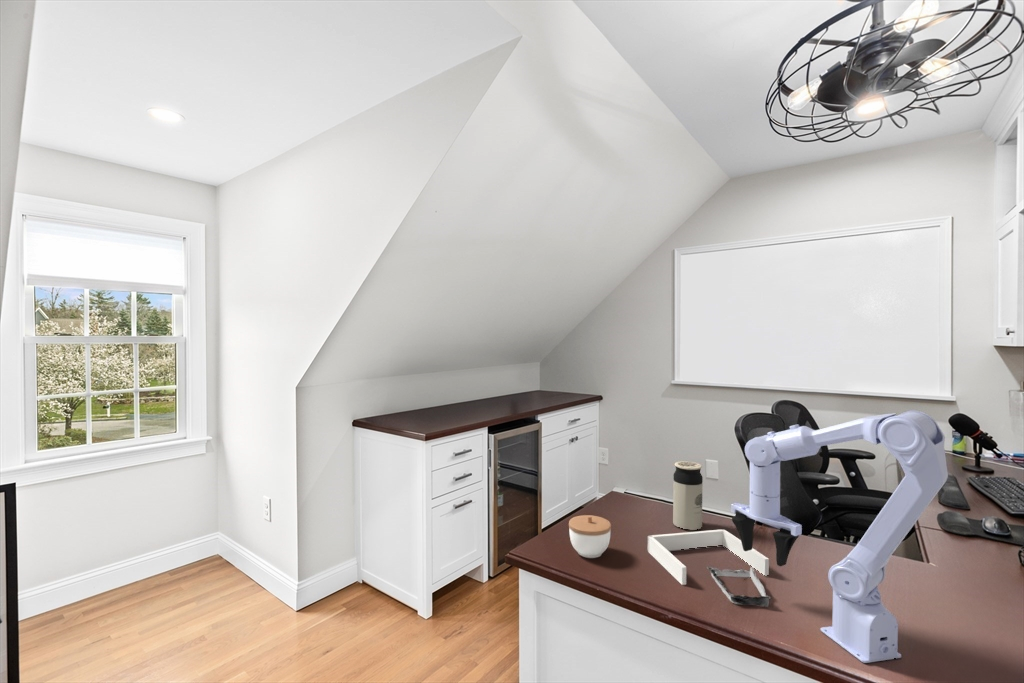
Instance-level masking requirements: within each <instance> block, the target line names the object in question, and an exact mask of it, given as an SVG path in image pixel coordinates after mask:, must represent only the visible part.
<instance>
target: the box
mask: <svg viewBox="0 0 1024 683" xmlns="http://www.w3.org/2000/svg"><path fill="white" fill-rule="evenodd" d="M646 542H647V543H646V544H647V549H646V551H647V553H648V554H650V555H651V556H652V557H653V558H654V559H655V561H657V562H658V563H659V564H660V565H661V566H662V567H663V568H664V569H665V570H666V571H667V572H668V573H669V574H671V576H672V577H673V578H674V579H675V580H676V581H677V582H679V583H680V584H681V586H685V585H687V566H686V565H685V564H683V563H682V562H681V561H680V560H679V559H678V558H677V557H676V556H675V555H673V553H671V552H672V551H682V550H681V549H684V550H690V549H689V548H695V549H698V548H697V547H706V548H708V547H707V546H717V547H719V546H718V545H723V546H722V547H724V546H725V547H726V548H728V549H729V550H730V551H729V550H728V549H727V550H728V551H729V552H731V551H732V552H733V553H734V554H733V553H732V552H731V553H732V554H733V555H735V554H736V555H737V556H739V557H740V558H741V559H740V558H739V557H738V558H739V559H740V560H742V559H743V560H744V561H745V562H744V563H746V562H747V563H748V564H747V563H746V564H747V565H749V566H750V565H751V566H752V569H754V568H755V569H756V570H755V569H754V570H755V571H757V570H758V571H759V572H758V571H757V572H758V573H760V574H761V573H762V574H763V575H762V574H761V575H762V576H764V575H765V576H764V577H768V576H767V575H769V574H770V573H769V572H770V570H769V569H770V568H769V566H770V559H769V558H768V557H767V556H765V555H764V554H762V553H761V552H759V551H757V549H755V548H753V547H752V550H749V551H744V550H743V546H742V542H741V539H740V538H738V537H736V536H735V535H734V534H732V533H731V532H729V531H727V530H726V529H713V530H712V529H711V530H710V529H709V530H701V531H689V532H677V533H665V534H663V533H662V534H652V535H647V541H646ZM725 547H724V548H725ZM726 548H725V549H726ZM736 555H735V556H736ZM737 556H736V557H737ZM743 560H742V561H743ZM751 566H750V567H751Z"/></svg>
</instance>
